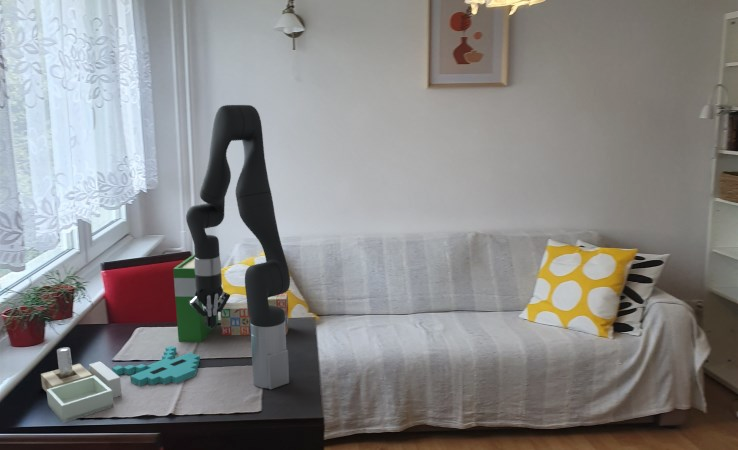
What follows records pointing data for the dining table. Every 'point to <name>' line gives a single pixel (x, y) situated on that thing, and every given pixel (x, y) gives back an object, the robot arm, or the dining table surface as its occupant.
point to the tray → (79, 398)
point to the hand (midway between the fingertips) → (211, 327)
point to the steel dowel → (64, 362)
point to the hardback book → (187, 316)
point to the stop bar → (106, 377)
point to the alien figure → (162, 369)
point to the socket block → (54, 380)
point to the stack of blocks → (247, 316)
